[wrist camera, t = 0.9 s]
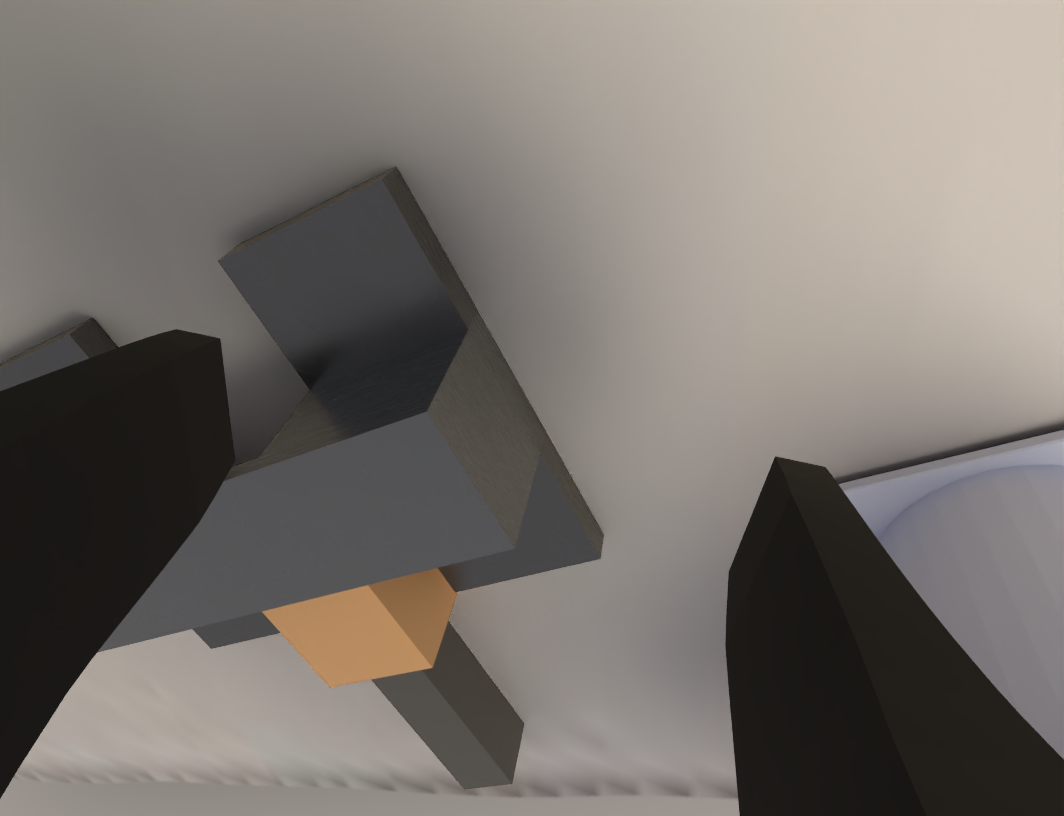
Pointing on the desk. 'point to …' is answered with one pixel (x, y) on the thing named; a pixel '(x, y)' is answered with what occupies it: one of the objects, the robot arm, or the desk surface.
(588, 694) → the desk surface
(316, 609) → the plug
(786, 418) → the desk surface
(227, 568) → the housing
